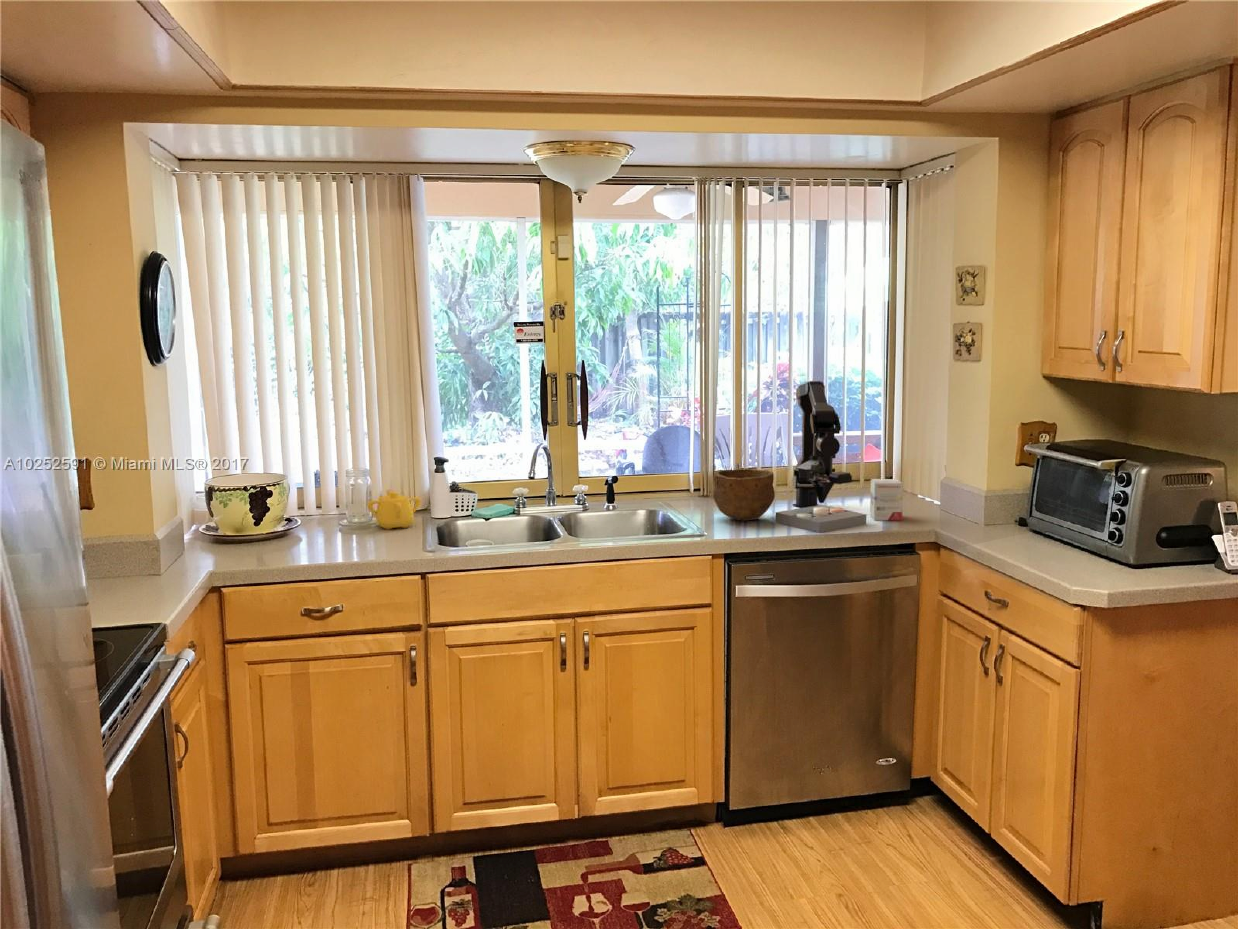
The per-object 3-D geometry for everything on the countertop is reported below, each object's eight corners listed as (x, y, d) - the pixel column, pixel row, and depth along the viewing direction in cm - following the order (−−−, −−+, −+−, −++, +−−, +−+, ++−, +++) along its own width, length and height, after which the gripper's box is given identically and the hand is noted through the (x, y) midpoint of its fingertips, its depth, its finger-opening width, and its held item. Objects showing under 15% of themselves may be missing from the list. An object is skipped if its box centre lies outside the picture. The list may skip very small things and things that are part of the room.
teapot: (361, 528, 288) (360, 494, 286) (388, 520, 299) (387, 487, 297) (399, 532, 282) (398, 498, 280) (425, 524, 293) (424, 490, 292)
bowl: (702, 522, 294) (703, 474, 292) (725, 511, 311) (726, 465, 308) (761, 528, 286) (762, 478, 283) (782, 517, 302) (783, 469, 300)
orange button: (826, 518, 297) (826, 509, 297) (836, 517, 300) (836, 507, 299) (837, 521, 294) (837, 511, 293) (847, 519, 296) (847, 509, 296)
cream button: (810, 517, 293) (810, 508, 293) (820, 516, 296) (820, 506, 295) (820, 520, 290) (821, 510, 289) (831, 518, 292) (831, 508, 292)
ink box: (897, 515, 304) (898, 478, 302) (902, 521, 296) (903, 482, 294) (869, 514, 305) (870, 477, 303) (873, 520, 297) (874, 482, 295)
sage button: (793, 524, 290) (793, 514, 289) (803, 522, 292) (804, 512, 292) (803, 527, 286) (804, 517, 286) (814, 525, 289) (814, 515, 288)
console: (775, 521, 295) (775, 512, 294) (822, 514, 306) (822, 504, 306) (818, 532, 280) (819, 522, 280) (866, 524, 291) (866, 514, 291)
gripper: (781, 450, 293) (780, 501, 295) (827, 457, 278) (825, 511, 280) (807, 447, 299) (806, 497, 302) (854, 454, 284) (852, 506, 286)
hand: (821, 502), depth 292 cm, fingers closed
